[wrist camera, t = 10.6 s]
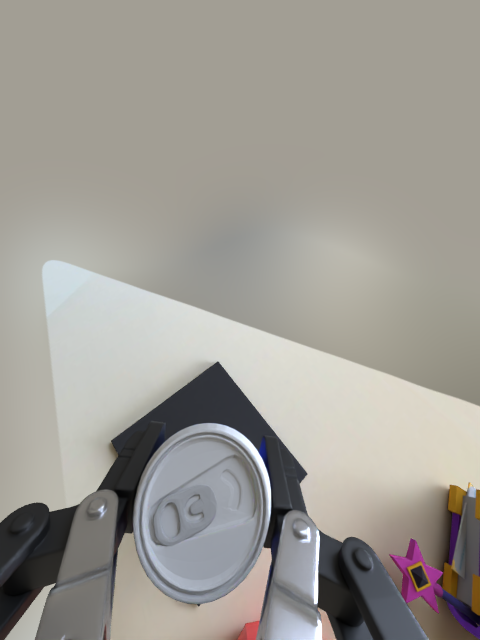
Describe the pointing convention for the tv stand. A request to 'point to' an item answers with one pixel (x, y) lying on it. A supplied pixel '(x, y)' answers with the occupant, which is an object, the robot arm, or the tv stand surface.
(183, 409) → the mat
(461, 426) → the tv stand surface
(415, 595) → the book
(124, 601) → the tv stand surface
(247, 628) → the apple
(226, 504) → the beverage can
